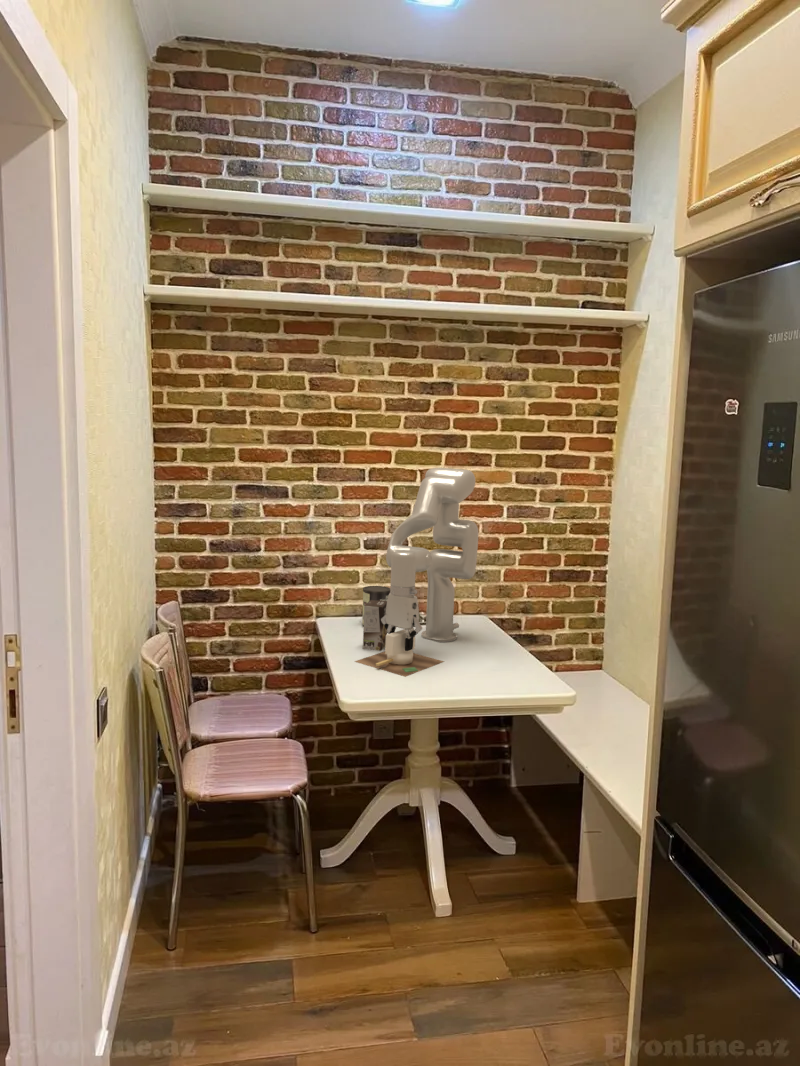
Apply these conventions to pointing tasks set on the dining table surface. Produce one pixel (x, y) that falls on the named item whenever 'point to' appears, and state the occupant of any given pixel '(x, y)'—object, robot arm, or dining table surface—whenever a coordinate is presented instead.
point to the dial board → (403, 670)
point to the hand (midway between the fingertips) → (400, 647)
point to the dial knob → (397, 649)
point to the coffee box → (374, 625)
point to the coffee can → (374, 595)
